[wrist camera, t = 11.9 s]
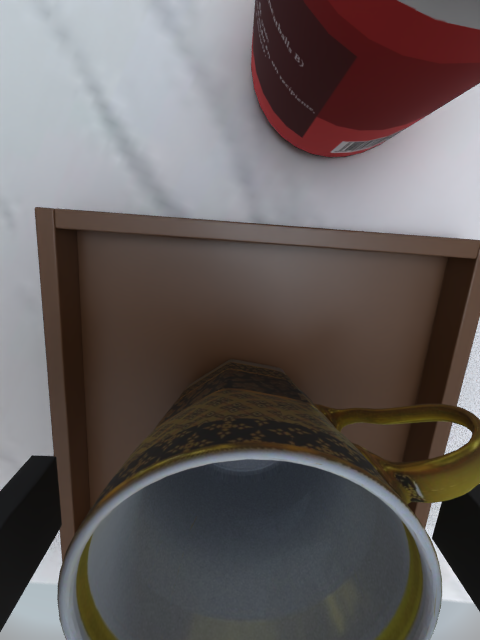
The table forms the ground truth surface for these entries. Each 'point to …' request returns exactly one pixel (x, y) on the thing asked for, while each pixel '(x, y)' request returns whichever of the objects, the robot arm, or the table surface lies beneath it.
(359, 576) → the ceramic cup
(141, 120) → the table surface
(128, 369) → the tray
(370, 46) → the canned food
